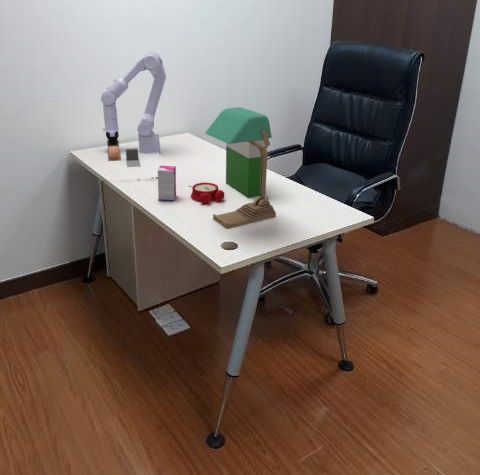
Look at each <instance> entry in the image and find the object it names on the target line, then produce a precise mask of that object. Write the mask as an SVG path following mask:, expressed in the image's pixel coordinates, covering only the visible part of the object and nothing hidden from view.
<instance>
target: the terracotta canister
mask: <svg viewBox="0 0 480 475" xmlns="http://www.w3.org/2000/svg"><path fill="white" fill-rule="evenodd" d="M108 149H109V159H112V160H115V159H119V158H120V155H121V154H120V155H119V149H120V145H119V146H109V147H108V146H107V150H108Z"/></svg>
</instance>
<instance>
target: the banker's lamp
mask: <svg viewBox="0 0 480 475" xmlns="http://www.w3.org/2000/svg"><path fill="white" fill-rule="evenodd" d="M270 124H271V123H270V120H269V118H268V116H267V115H266V114H262V113H260V112H256V111H254V110H251V109H247V108H244V107H228V108H225V109H223V110H222V111H220V113H219V114H218V115H217V116H216V118H215V119H214V121H213V122H212V123H211V125H210V126H209V127H208V128H207V130H206V131H205V132H204V134H206V135H208V136H210V137H212V138H214V139H217V140H219V141H221V142H222V143H228V144H233V143H240V142H249V143H250V144H252V145H254V146H256V147H257V148H258V149H259V150H260V153H261V176H260V196H257V197H256V198H255V199H254V201H253V202H247V203H244V204H242V206H240V207H238V208H237V209H235V210H234V211H230V212H225V213H221V214H212V220H213V221H215V222H216V223H217V224H219V225H221V226H222V227H223V228H225V229H231V228H236V227H238V226H239V227H240V226H242V225H247V224H251V223H256V222H259V221H264V220H266V219H271V218H275V217H276V216H277V212H276V210H275V208H274V206H273V205H272V204H271V203H270V201H269V198H268V196H266V189H267V171H268V168H267V167H268V151H267V152H266V149H265V148H267V149H268V147H269V146H270V145H271V143H270V139H271V138H272V137H273V136H272V129H271V125H270ZM261 139H264V143H265V146H264V147H263V146H262V145H260V144H259V143H257V142H255V141H254V140H261Z"/></svg>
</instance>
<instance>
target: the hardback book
mask: <svg viewBox="0 0 480 475" xmlns="http://www.w3.org/2000/svg"><path fill="white" fill-rule="evenodd" d="M254 141H255V142H257V143H259V144H260V145H262V146H263V147H264V146H265V143H264V139H261V140H254ZM265 149H266V152H267V153H268V147H267V148H265ZM225 152H226V153H225V157H226V159H225V184H226V185H227V186H229V187H230V188H232V189H234V190H235V191H237V192H238V193H239V194H241V195H242V196H244V197H245V198H247V199H250V198H255V197H256V198H257V197H260V176H261V153H260V150H259V149H258V148H257V147H256V146H254V145H252V144H250V143H249V142H240V143H233V144H228V143H226V146H225Z"/></svg>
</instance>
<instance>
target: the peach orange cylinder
mask: <svg viewBox="0 0 480 475" xmlns="http://www.w3.org/2000/svg"><path fill="white" fill-rule="evenodd" d="M106 143H107V161H108V162H116V161H117V162H119V161H121V162H122V156H121V149H120V148H119V155H120V158H119V159H115V160H112V159H109V149H108V147H109V146H110V143H109V140H108V139H107V140H106ZM116 146H119V147H120V143H119V139H117V145H116Z"/></svg>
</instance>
